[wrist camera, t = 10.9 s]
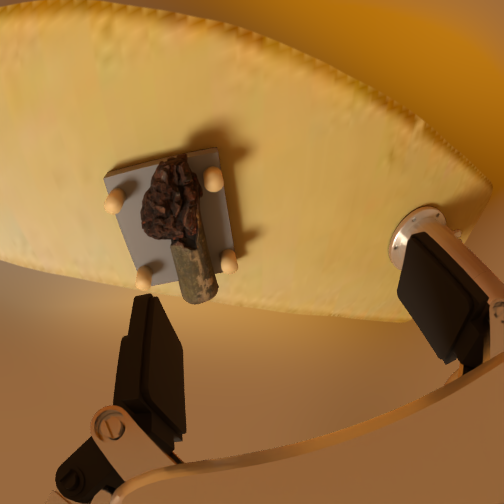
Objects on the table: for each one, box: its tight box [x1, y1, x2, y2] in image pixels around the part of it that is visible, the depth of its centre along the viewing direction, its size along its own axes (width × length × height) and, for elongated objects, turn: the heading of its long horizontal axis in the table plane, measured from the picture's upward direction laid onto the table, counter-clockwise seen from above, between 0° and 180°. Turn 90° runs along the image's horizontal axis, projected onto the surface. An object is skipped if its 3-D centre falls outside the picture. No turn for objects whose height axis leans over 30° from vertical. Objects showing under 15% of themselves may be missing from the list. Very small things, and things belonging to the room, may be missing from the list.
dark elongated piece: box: [140, 153, 219, 304], centre depth 32 cm, size 18×7×6 cm, turn 4°
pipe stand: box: [103, 147, 238, 290], centre depth 34 cm, size 13×16×4 cm
